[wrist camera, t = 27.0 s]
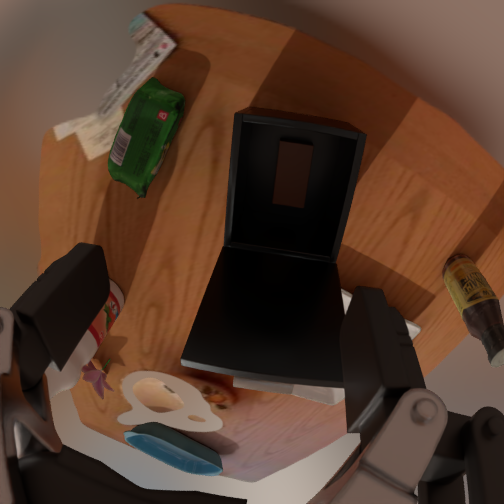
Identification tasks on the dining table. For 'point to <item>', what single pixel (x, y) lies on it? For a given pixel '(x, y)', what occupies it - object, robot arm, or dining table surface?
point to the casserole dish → (174, 449)
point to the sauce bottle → (476, 305)
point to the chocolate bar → (292, 172)
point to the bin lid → (269, 322)
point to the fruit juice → (86, 344)
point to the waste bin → (263, 178)
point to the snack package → (145, 135)
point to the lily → (96, 378)
